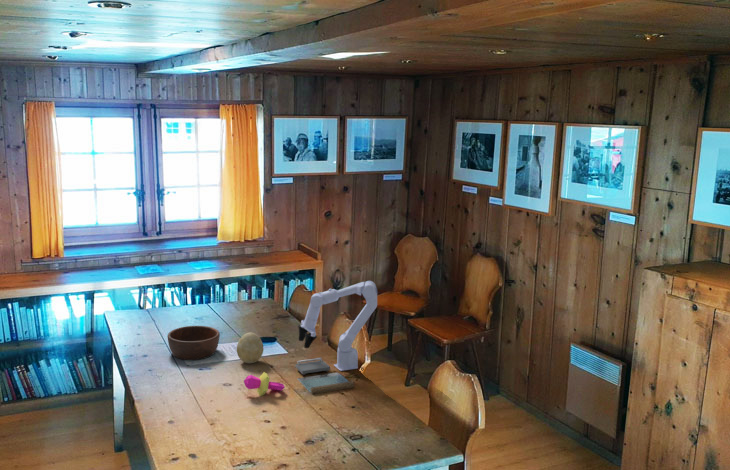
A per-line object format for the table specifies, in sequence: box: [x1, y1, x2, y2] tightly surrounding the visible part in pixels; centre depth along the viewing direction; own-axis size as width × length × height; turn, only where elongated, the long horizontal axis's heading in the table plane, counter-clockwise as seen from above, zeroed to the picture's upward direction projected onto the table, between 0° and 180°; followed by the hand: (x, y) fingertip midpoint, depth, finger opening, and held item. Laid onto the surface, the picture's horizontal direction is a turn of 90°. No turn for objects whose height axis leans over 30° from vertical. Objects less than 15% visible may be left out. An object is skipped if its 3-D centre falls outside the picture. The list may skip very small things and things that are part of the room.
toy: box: [243, 371, 285, 397], centre depth 292 cm, size 10×18×10 cm, turn 112°
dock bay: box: [296, 372, 355, 395], centre depth 306 cm, size 20×18×3 cm
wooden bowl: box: [166, 325, 221, 361], centre depth 336 cm, size 25×25×10 cm
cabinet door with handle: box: [294, 357, 331, 376], centre depth 319 cm, size 14×9×4 cm, turn 116°
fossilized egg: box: [236, 332, 264, 364], centre depth 326 cm, size 13×13×15 cm
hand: (303, 344), depth 324 cm, fingers open, 7 cm apart
